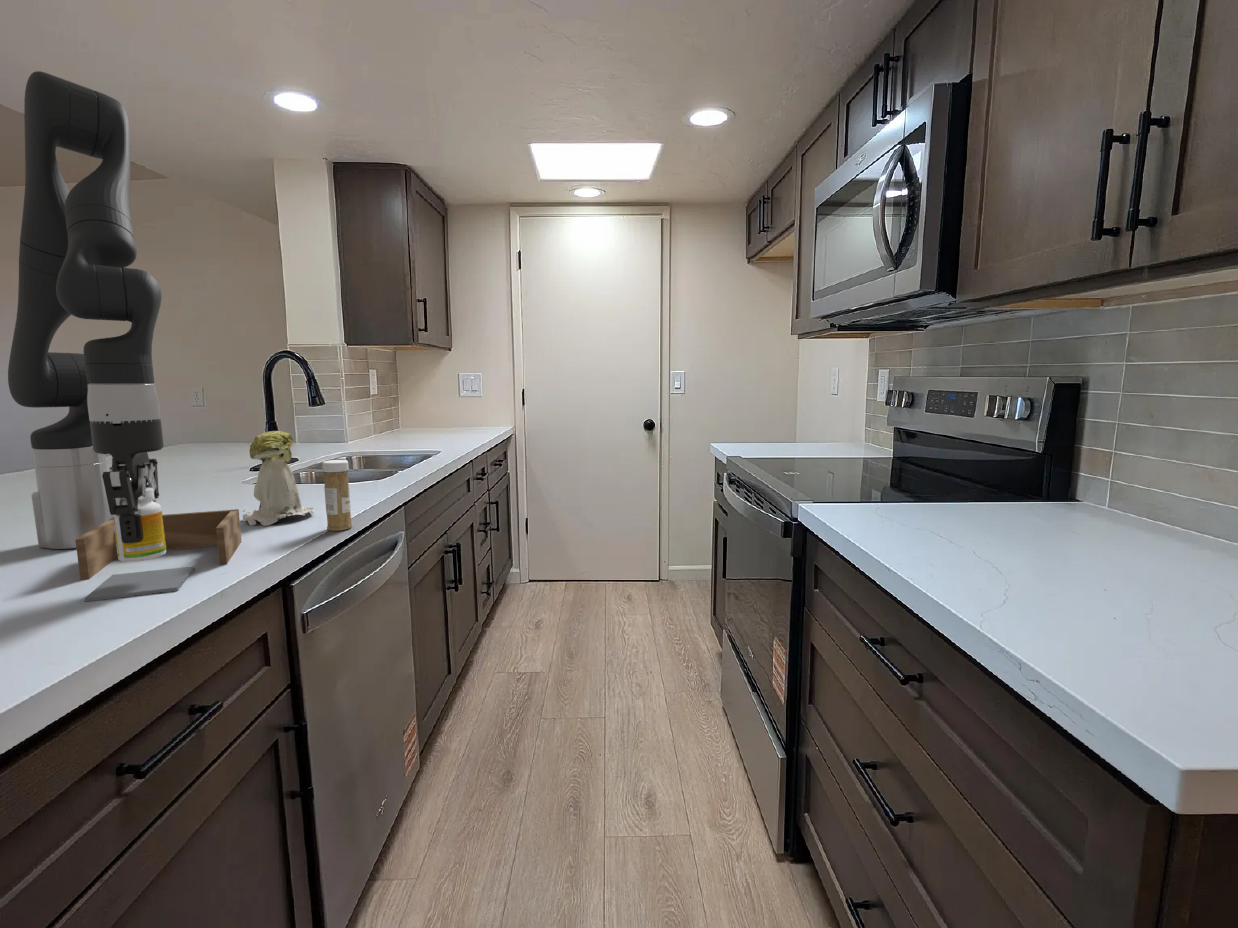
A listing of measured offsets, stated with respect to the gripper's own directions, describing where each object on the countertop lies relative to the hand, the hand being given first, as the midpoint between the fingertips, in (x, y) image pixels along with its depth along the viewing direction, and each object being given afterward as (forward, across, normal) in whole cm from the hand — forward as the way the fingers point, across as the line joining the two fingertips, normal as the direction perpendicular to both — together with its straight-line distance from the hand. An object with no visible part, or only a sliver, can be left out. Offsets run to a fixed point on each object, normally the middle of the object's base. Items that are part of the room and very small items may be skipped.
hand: (140, 536), depth 83 cm
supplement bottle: (+3, 0, 0) cm, 3 cm away
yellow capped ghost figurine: (+7, -38, +13) cm, 41 cm away
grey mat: (+7, 0, 0) cm, 7 cm away
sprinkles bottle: (+7, -23, +25) cm, 35 cm away
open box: (+7, -13, 0) cm, 15 cm away
